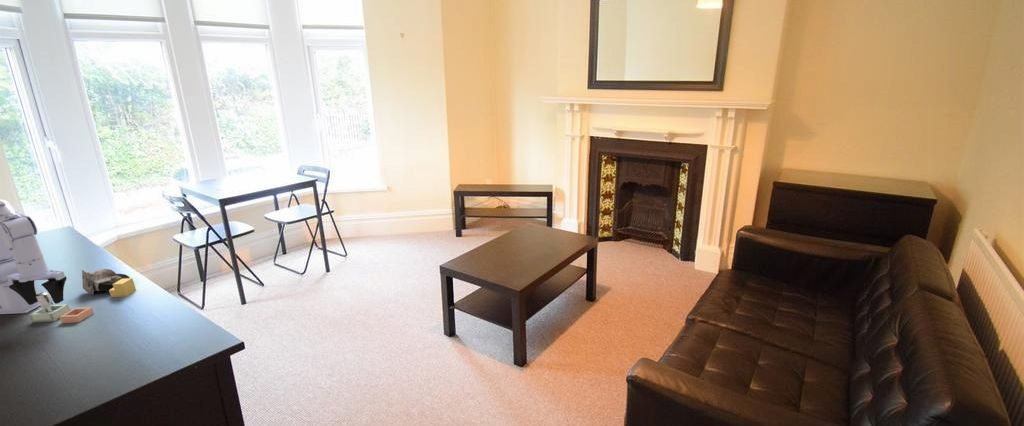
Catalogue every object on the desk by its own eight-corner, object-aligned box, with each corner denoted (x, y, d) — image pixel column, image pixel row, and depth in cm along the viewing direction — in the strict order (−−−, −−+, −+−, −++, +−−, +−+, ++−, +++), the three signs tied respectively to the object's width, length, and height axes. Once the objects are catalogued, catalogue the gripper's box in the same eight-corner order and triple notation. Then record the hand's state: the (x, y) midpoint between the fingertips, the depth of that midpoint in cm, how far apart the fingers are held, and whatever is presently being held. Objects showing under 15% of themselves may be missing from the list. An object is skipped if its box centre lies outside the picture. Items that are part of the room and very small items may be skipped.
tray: (32, 322, 136) (29, 314, 135) (49, 312, 141) (46, 305, 140) (54, 321, 136) (51, 313, 135) (71, 311, 141) (68, 304, 140)
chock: (111, 297, 149) (106, 284, 148) (121, 291, 153) (116, 278, 152) (126, 296, 149) (122, 283, 148) (136, 290, 153) (132, 278, 152)
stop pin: (42, 317, 137) (32, 296, 134) (50, 312, 139) (41, 292, 137) (51, 317, 137) (42, 296, 134) (59, 312, 139) (50, 291, 137)
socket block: (61, 323, 135) (59, 316, 134) (77, 314, 139) (74, 308, 139) (79, 322, 134) (76, 316, 134) (93, 313, 139) (91, 307, 139)
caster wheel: (135, 292, 158) (98, 301, 149) (117, 280, 162) (80, 288, 153) (135, 274, 156) (98, 282, 147) (116, 262, 160) (79, 270, 152)
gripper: (-12, 266, 129) (7, 310, 133) (41, 264, 129) (58, 308, 133) (14, 256, 136) (31, 298, 140) (64, 253, 136) (80, 296, 140)
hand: (46, 302), depth 137 cm, fingers open, 7 cm apart
